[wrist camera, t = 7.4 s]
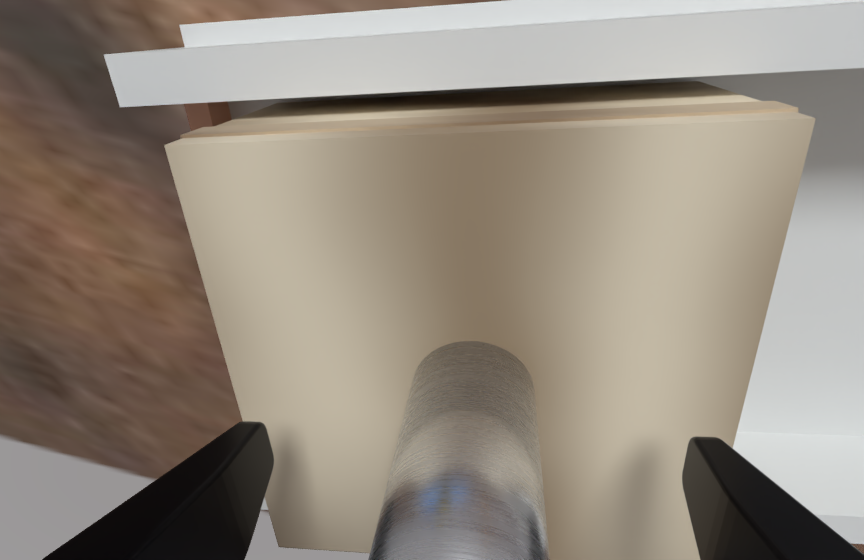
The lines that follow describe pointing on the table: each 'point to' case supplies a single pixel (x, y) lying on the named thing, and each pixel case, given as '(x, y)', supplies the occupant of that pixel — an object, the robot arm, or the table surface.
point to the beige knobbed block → (492, 307)
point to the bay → (603, 66)
